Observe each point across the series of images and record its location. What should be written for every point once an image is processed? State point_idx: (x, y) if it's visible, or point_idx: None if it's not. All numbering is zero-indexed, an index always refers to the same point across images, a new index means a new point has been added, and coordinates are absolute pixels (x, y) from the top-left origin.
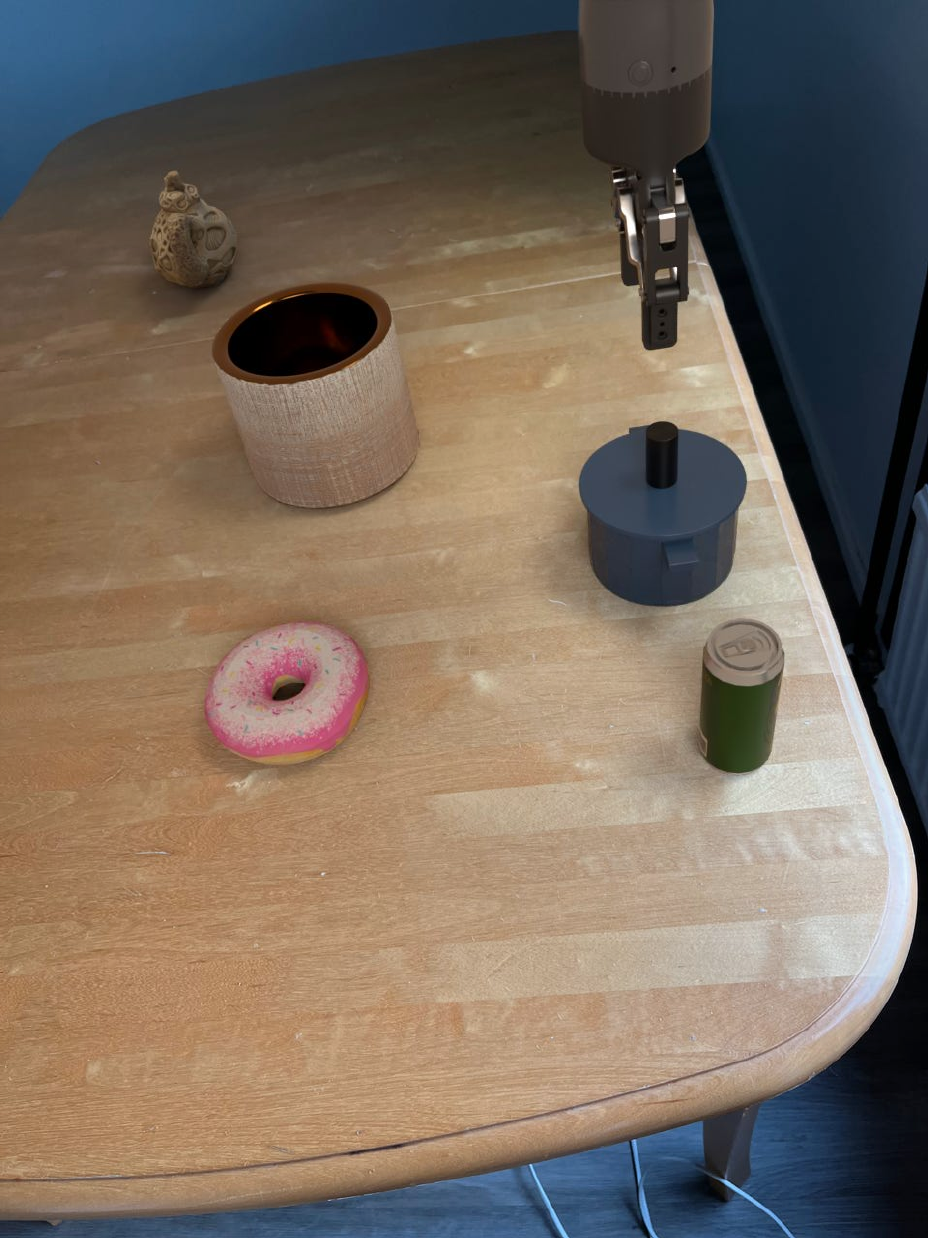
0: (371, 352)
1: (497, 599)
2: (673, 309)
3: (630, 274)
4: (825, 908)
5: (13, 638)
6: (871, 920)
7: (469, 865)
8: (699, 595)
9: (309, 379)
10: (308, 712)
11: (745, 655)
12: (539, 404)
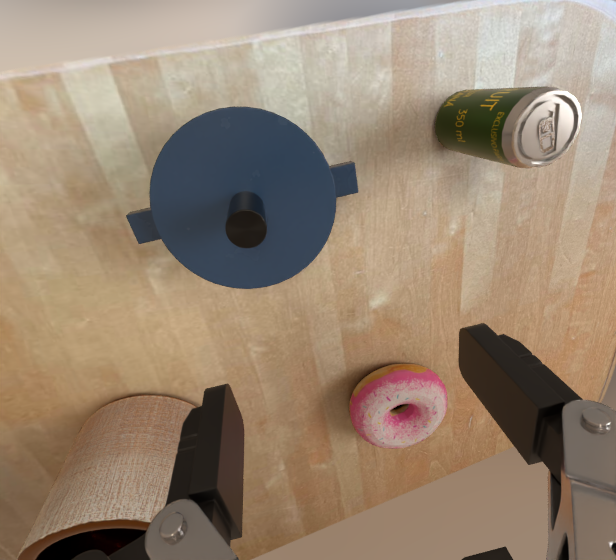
0: (146, 520)
1: (302, 304)
2: (572, 390)
3: (239, 433)
4: (589, 59)
5: (332, 523)
6: (606, 24)
7: (508, 284)
8: None
9: None
10: (436, 398)
11: (559, 130)
12: (31, 313)
